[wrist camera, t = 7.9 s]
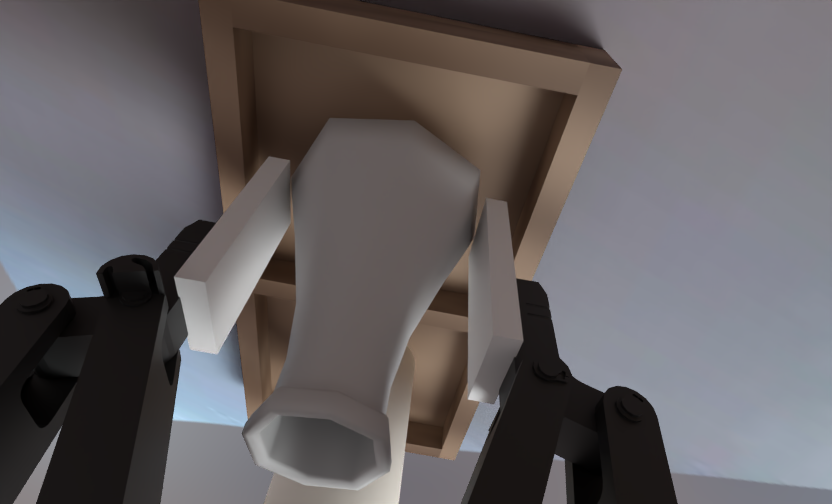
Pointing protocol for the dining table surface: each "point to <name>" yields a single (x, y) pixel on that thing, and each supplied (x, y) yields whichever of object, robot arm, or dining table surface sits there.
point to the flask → (360, 292)
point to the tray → (399, 100)
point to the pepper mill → (380, 497)
